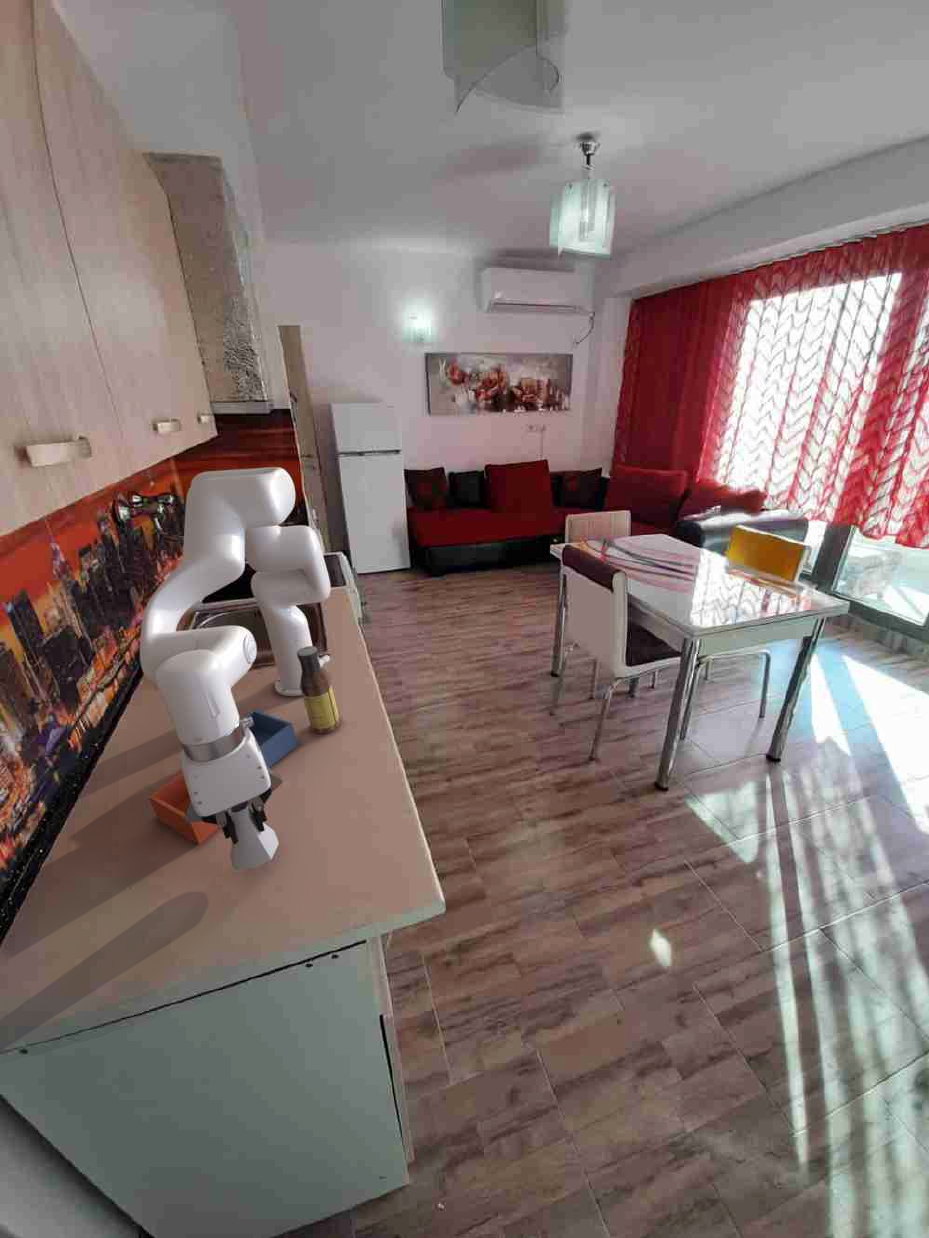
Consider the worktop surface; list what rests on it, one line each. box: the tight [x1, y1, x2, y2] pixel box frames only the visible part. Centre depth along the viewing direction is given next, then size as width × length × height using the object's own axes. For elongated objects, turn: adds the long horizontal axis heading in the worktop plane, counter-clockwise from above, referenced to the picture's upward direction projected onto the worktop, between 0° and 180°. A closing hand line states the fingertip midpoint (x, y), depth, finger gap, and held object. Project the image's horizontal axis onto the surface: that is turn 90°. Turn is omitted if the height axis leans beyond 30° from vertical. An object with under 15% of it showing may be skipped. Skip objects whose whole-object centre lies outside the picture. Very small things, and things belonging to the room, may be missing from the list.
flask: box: [227, 800, 280, 871], centre depth 72 cm, size 7×7×10 cm
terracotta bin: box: [147, 772, 252, 845], centre depth 85 cm, size 12×12×6 cm
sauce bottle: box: [297, 645, 340, 734], centre depth 102 cm, size 6×6×20 cm
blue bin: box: [242, 709, 299, 768], centre depth 98 cm, size 12×12×6 cm
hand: (247, 830), depth 72 cm, fingers closed on flask, 3 cm apart
